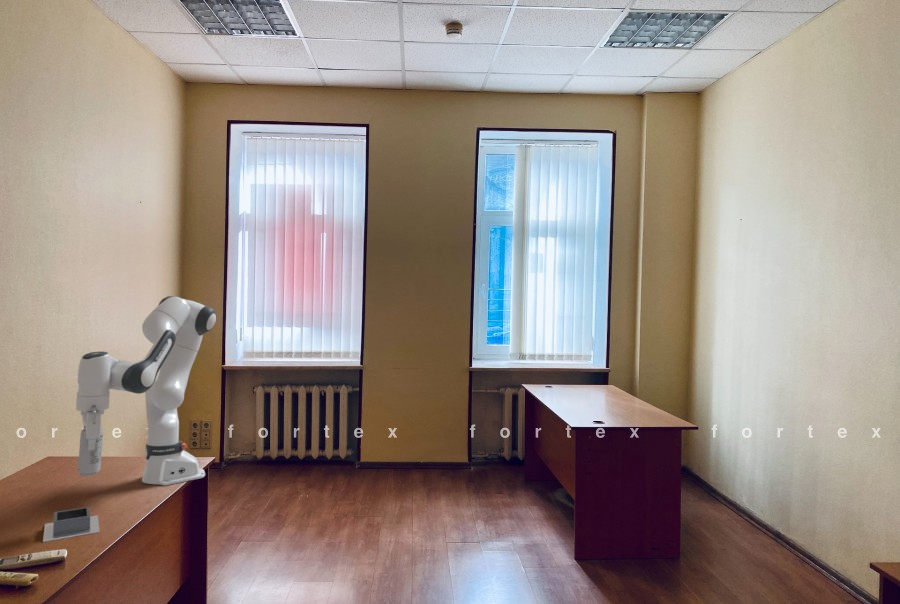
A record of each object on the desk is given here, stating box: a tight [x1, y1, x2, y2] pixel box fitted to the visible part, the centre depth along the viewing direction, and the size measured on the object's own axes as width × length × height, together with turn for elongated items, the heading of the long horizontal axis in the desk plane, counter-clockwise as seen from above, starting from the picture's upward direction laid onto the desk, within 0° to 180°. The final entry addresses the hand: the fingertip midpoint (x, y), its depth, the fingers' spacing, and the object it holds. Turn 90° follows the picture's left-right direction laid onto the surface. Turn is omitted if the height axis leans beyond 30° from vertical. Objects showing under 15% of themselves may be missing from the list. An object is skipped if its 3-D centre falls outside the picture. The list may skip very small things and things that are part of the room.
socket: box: [42, 506, 100, 543], centre depth 175 cm, size 14×14×5 cm
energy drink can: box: [77, 426, 104, 477], centre depth 180 cm, size 6×6×15 cm
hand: (90, 447), depth 180 cm, fingers closed on energy drink can, 6 cm apart
